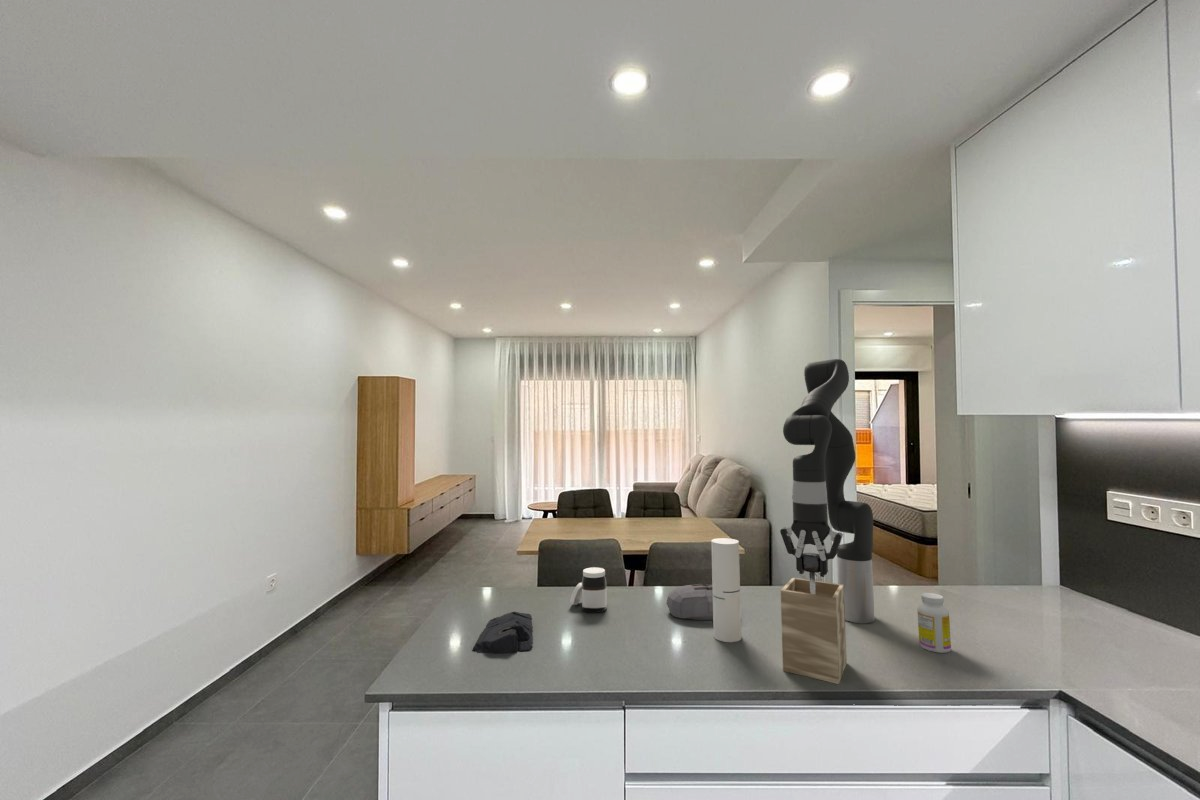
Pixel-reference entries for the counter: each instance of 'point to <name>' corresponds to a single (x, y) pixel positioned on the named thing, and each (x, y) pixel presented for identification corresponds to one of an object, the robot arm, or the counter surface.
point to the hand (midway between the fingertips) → (812, 574)
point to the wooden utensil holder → (813, 629)
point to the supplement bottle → (933, 624)
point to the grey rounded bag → (692, 602)
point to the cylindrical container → (726, 589)
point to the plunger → (811, 568)
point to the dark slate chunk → (506, 634)
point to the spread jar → (591, 590)
